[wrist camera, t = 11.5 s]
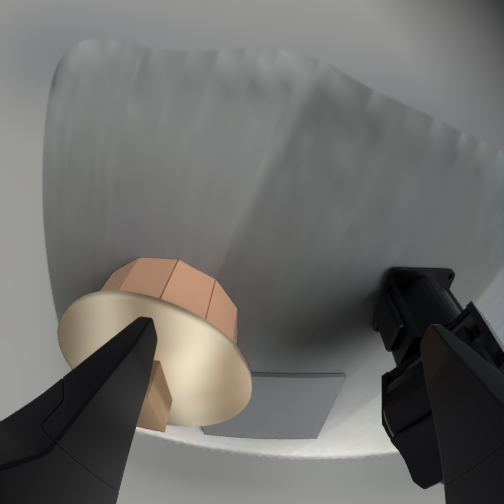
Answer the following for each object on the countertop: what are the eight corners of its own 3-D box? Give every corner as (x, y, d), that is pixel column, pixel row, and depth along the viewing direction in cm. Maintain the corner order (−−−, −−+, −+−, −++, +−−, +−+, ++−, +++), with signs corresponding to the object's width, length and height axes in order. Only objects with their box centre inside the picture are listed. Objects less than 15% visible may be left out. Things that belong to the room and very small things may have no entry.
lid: (255, 300, 16) (252, 355, 12) (250, 426, 23) (247, 463, 20) (35, 279, 16) (5, 314, 13) (99, 402, 24) (87, 432, 20)
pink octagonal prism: (236, 262, 22) (227, 318, 16) (237, 365, 28) (232, 417, 22) (93, 254, 22) (56, 299, 17) (125, 352, 28) (106, 397, 23)
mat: (345, 373, 28) (345, 376, 27) (316, 435, 36) (316, 438, 35) (189, 367, 28) (188, 371, 28) (204, 431, 36) (204, 434, 36)
